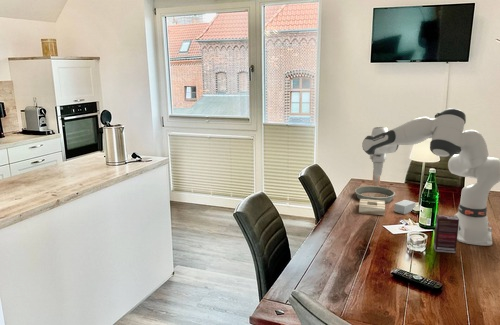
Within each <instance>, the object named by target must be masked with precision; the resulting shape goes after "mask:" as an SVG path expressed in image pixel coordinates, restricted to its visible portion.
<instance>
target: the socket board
mask: <svg viewBox="0 0 500 325" xmlns="http://www.w3.org/2000/svg"><path fill="white" fill-rule="evenodd" d="M358 205H359V206H358V214H363V215H364V214H365V215H376V216H378V215H379V216H385V214H386V203H385V201H380V200H369V199H359V204H358Z"/></svg>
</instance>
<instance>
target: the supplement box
mask: <svg viewBox="0 0 500 325" xmlns="http://www.w3.org/2000/svg"><path fill="white" fill-rule="evenodd" d="M435 216H436V218H435V226H434V238H433V246H432V247H433V249H434V251H435V252H439V253H452V254H455V253H457V252H456V251H457V243H458V239H457V235H458V225H459V219H458V218H457V216H454V215H445V214H444V215H443V214H436V215H435Z"/></svg>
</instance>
